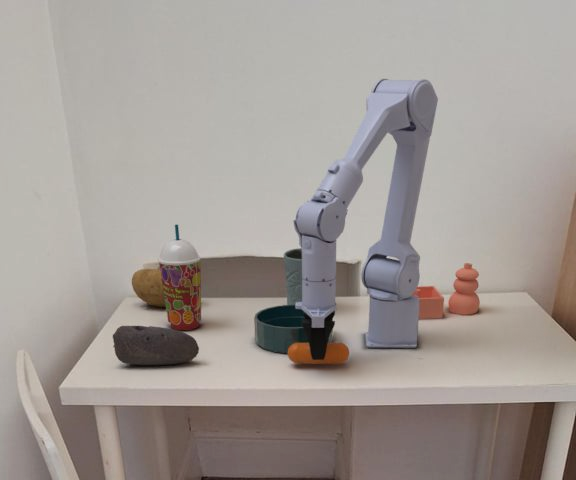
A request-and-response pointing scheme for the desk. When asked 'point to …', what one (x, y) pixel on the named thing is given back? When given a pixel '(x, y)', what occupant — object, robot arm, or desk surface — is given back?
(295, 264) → the green cylindrical vase
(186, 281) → the smoothie
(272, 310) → the teal shallow bowl
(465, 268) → the bottle and box
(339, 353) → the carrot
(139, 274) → the potato
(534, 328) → the desk surface
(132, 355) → the perforated stone tool
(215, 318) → the desk surface
